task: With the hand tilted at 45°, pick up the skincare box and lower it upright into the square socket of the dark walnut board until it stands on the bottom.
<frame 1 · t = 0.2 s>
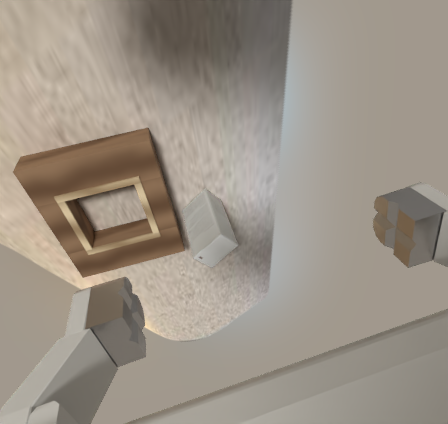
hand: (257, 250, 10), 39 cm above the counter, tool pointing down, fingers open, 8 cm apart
skincare box: (201, 203, 58), on the counter
walnut socket board: (112, 202, 54), on the counter
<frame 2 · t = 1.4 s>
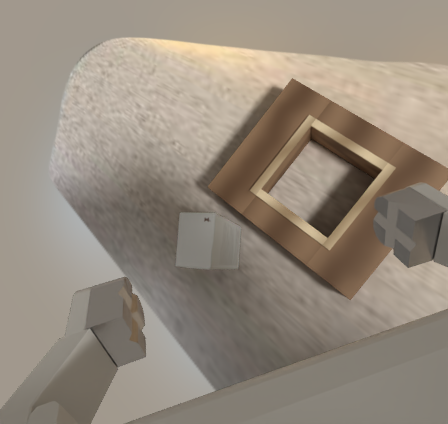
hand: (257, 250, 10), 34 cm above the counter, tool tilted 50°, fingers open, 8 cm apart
skincare box: (225, 247, 46), on the counter
walnut socket board: (318, 188, 44), on the counter
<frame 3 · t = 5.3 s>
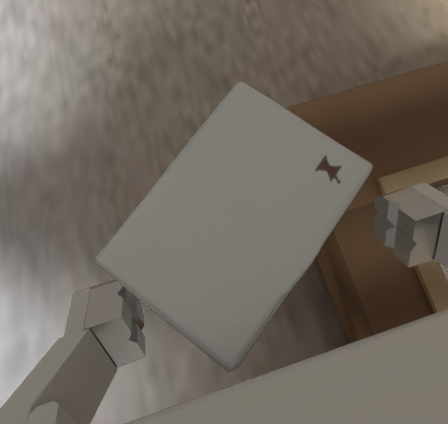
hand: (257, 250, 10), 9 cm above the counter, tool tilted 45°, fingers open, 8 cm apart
skincare box: (226, 256, 20), on the counter, touching gripper
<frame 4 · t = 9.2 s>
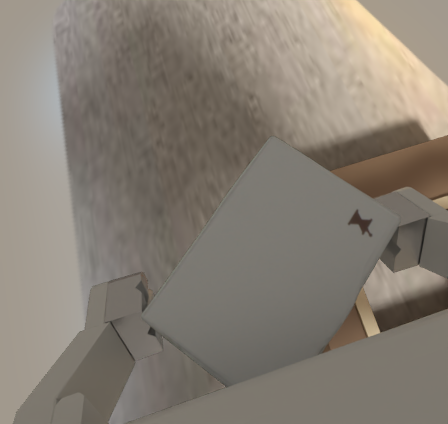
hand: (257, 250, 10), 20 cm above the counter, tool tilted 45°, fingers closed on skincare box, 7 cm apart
skincare box: (239, 275, 20), point 10 cm above the counter, touching gripper
walnut socket board: (398, 282, 30), on the counter
when the fingers open (14 cm above the counter, at t = 12.3 s): skincare box drops 2 cm, resting in walnut socket board.
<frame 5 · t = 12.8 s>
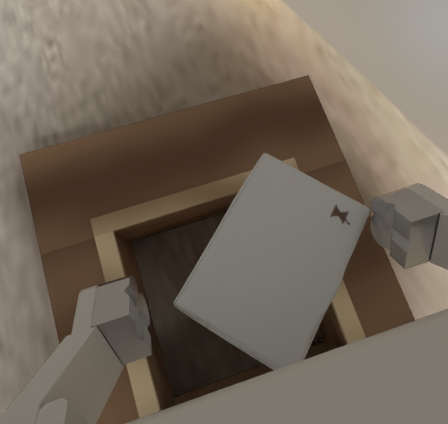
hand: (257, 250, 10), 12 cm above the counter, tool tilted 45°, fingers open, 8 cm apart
skincare box: (233, 288, 22), resting in walnut socket board, touching gripper
walnut socket board: (225, 290, 22), on the counter
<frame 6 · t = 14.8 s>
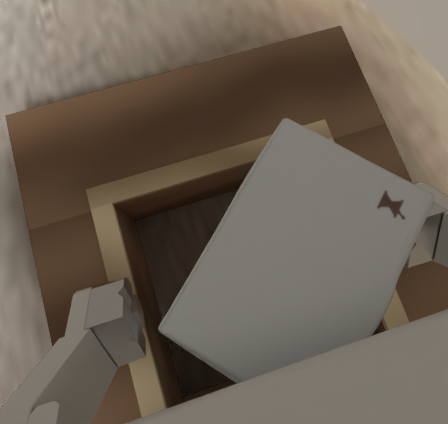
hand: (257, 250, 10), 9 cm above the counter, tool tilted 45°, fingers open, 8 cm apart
skincare box: (250, 273, 19), resting in walnut socket board
walnut socket board: (242, 276, 19), on the counter
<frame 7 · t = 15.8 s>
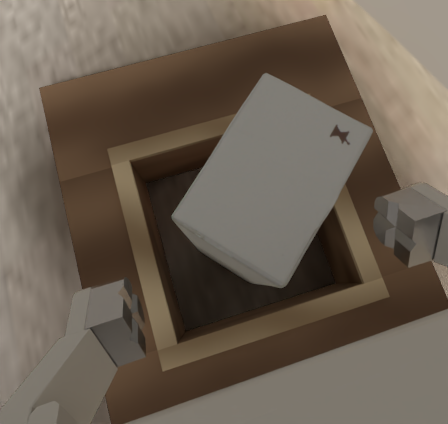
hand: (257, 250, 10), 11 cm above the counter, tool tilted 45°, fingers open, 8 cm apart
skincare box: (245, 230, 22), resting in walnut socket board
walnut socket board: (238, 231, 22), on the counter
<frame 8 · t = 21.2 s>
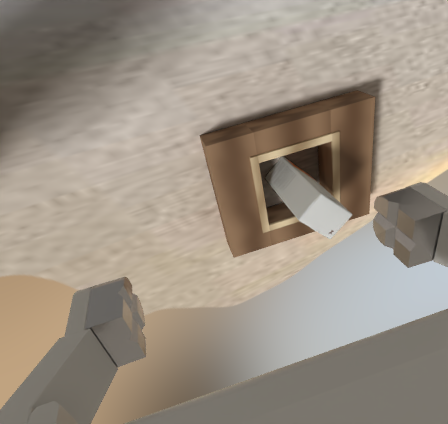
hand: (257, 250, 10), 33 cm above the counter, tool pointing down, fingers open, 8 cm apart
skincare box: (286, 175, 49), resting in walnut socket board
walnut socket board: (286, 172, 48), on the counter
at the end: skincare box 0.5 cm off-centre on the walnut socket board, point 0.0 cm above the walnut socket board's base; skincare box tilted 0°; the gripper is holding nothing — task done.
